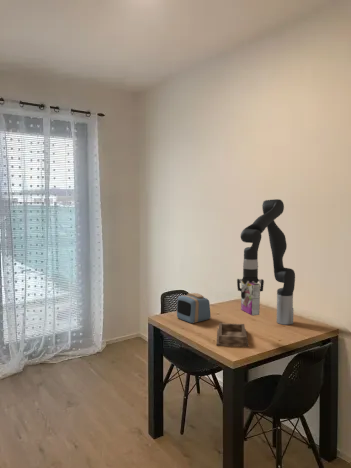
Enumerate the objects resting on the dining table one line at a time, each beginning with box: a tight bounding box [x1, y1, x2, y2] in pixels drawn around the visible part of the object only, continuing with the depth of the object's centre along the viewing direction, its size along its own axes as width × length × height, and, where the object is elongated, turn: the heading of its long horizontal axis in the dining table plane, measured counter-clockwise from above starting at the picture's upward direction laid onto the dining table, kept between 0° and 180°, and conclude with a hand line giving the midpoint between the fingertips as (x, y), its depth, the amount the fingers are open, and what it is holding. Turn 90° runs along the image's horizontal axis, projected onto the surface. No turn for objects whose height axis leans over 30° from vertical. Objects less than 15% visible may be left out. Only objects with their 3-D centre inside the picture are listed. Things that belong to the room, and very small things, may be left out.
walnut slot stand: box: [216, 322, 249, 348], centre depth 210 cm, size 16×24×4 cm, turn 173°
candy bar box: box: [240, 281, 261, 316], centre depth 205 cm, size 11×5×16 cm, turn 21°
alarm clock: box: [176, 292, 212, 324], centre depth 243 cm, size 16×16×16 cm
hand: (250, 298), depth 205 cm, fingers closed on candy bar box, 6 cm apart
